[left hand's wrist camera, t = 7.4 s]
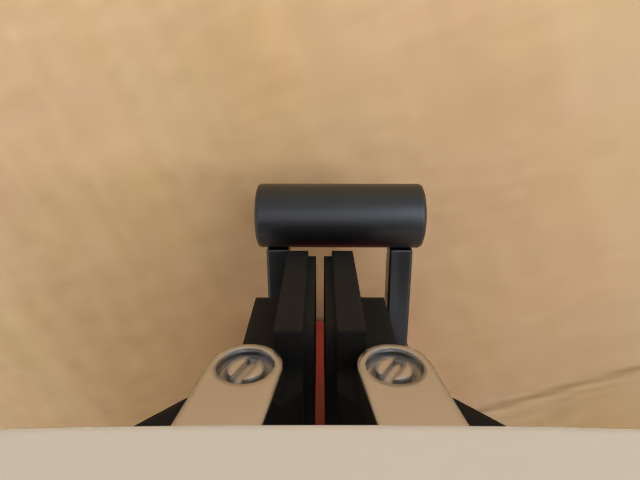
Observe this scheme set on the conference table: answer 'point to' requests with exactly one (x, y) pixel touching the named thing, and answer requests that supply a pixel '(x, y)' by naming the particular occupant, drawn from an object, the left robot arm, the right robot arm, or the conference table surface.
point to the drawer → (343, 239)
